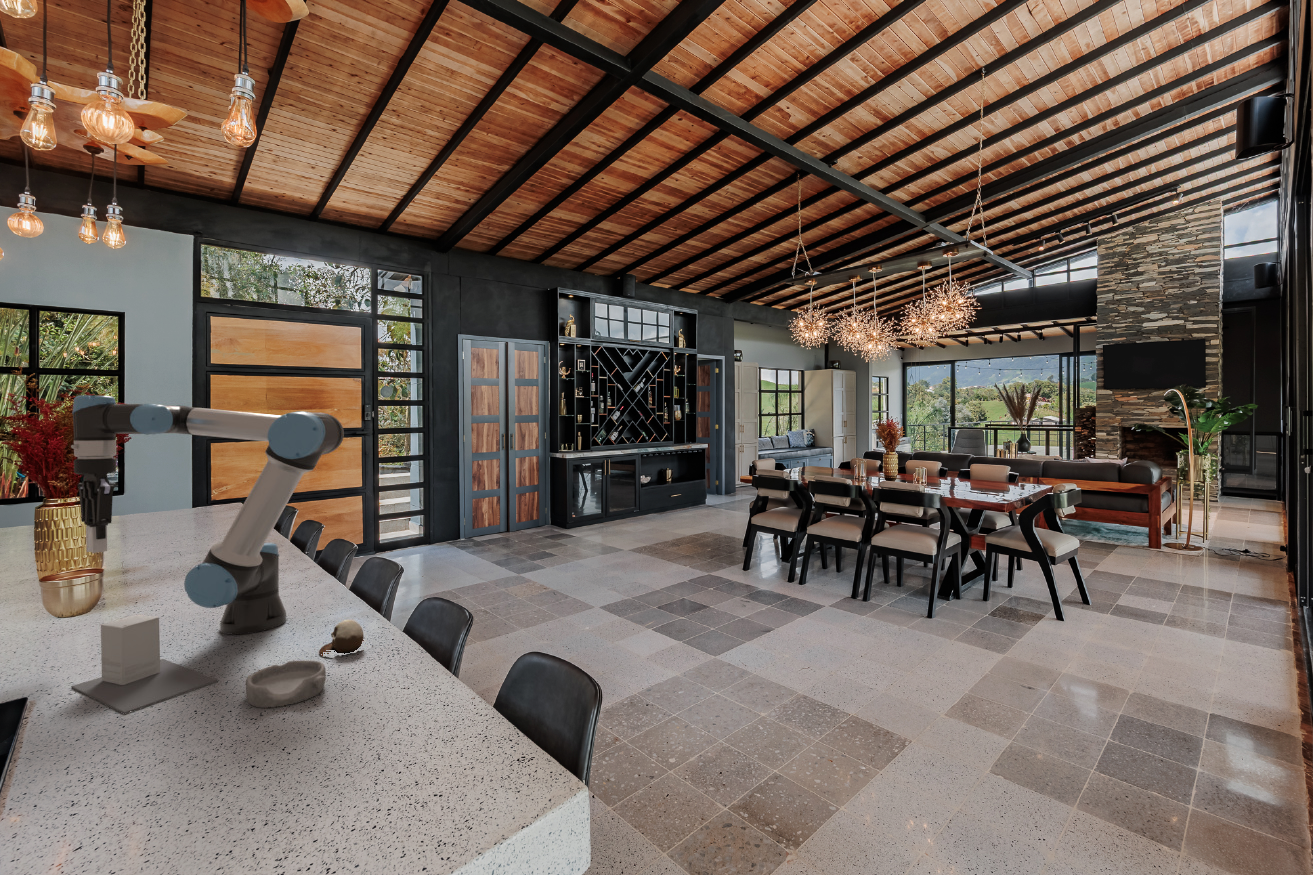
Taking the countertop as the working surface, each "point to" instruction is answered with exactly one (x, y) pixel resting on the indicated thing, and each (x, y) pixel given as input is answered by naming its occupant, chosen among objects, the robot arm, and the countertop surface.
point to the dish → (285, 683)
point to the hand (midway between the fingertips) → (96, 551)
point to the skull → (345, 638)
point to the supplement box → (130, 649)
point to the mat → (145, 687)
